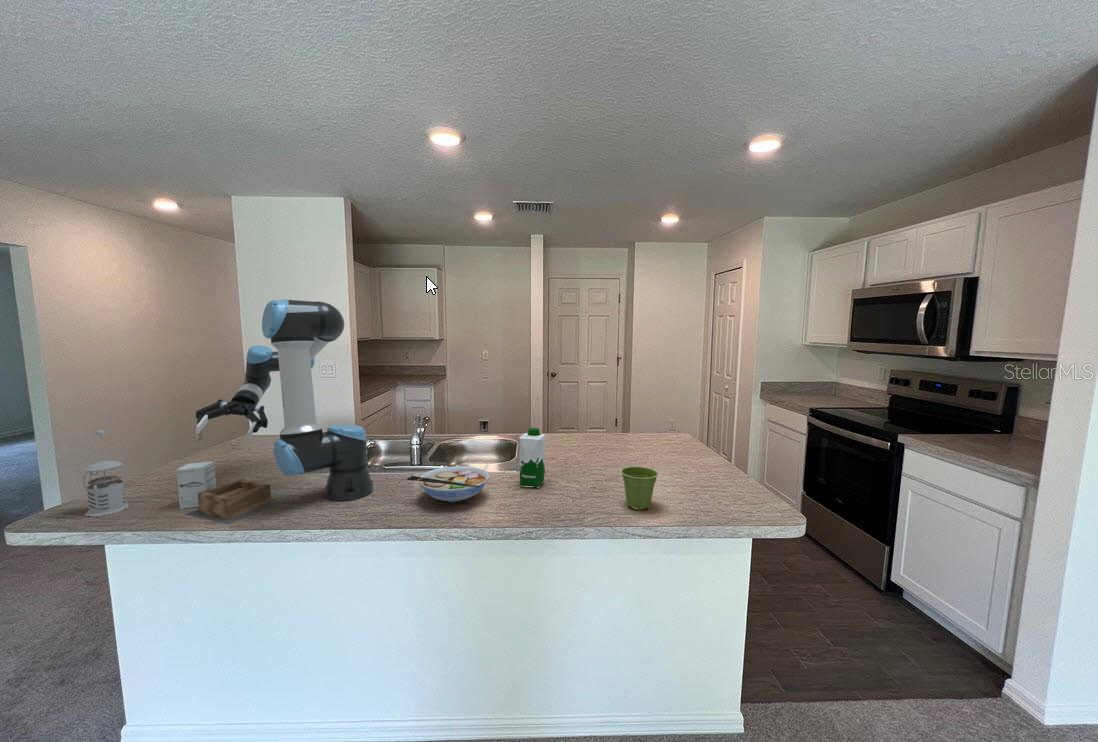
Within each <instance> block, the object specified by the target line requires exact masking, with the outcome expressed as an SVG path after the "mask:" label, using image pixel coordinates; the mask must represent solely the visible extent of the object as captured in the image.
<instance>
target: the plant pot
mask: <svg viewBox="0 0 1098 742" xmlns="http://www.w3.org/2000/svg"><path fill="white" fill-rule="evenodd" d="M620 473H621V474H622V480H623V485H624V492H625V499H626V500H625V501H626V505H628V506H630V507H629V508H631V507H633V508H637V509H645V508H648V507H649V508H650V507H651V502H652V498H653V494H654V493H653V492H654V489H655V483H656V481H657V477H658V476H659V472H658V471H657V470H655V469H653V468H648V467H644V466H637V465H636V466H632V465H631V466H624V467H623V468H621V469H620ZM628 506H627V507H628ZM649 508H648V509H649ZM645 510H646V509H645Z"/></svg>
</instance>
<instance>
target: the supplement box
mask: <svg viewBox="0 0 1098 742" xmlns="http://www.w3.org/2000/svg"><path fill="white" fill-rule="evenodd" d="M215 470H216V469H215V461H205V462H204V461H203V462H190V463H186V464H183V465H182V466H180V467H178V468H177V469H176V478H177V479H176V481H177V489H178V500H179V510H183V509H191V508H199V504H198V493H200V492H204V491H207V490H210V489H213V488H216V487H217V483H216V481H217V480H216V471H215Z"/></svg>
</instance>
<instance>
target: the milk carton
mask: <svg viewBox="0 0 1098 742" xmlns="http://www.w3.org/2000/svg"><path fill="white" fill-rule="evenodd" d="M518 439H519V440H518V441H519V486H520V485H522V486H533V487H539V486H540V485H541V484H542V482H543V481H544V482H545V473H546V472H545V471H546V469H545V468H546V434H545V433H543V434H542V433H540V429H539V428H537V427H529V428H528V430H527V432H525V433H523V434H522V435H520V437H519V438H518ZM544 482H543V483H544ZM542 485H543V484H542ZM542 485H541V486H542ZM541 486H540V487H541Z"/></svg>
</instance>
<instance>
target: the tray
mask: <svg viewBox="0 0 1098 742" xmlns="http://www.w3.org/2000/svg"><path fill="white" fill-rule="evenodd" d="M271 499H272V495H271V484H268V483H264V482H258V481H253V480H247V479H243V478H242V479H239V480H235V481H232V482H230V483H229V482H228V483H226V484H222V485H219V486H216V488H213V489H210V490H207V491H204V492H200V493H198V504H199V507H198V509H199V513H203V514H207V515H211V516H215V517H220V518H224V519H228V520H229V519H231V518H234V517H236V516H239V515H242V514H244V513H247V512H249V511H252V510H254V509H257V508H259V507H262V506H264V505H267V504H270V503H271Z"/></svg>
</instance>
